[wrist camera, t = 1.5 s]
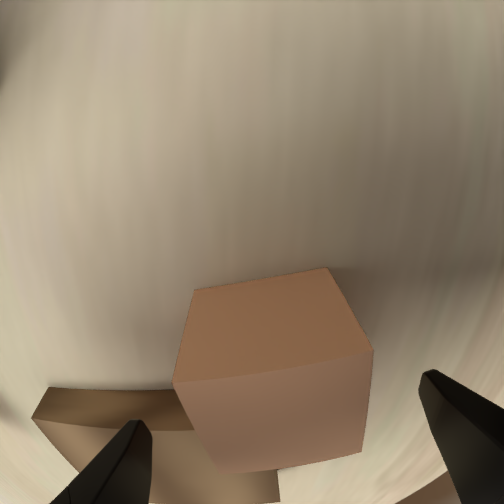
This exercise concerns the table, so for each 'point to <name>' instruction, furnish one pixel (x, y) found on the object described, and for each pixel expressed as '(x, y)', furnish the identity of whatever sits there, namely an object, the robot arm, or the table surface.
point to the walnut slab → (163, 449)
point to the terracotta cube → (274, 372)
